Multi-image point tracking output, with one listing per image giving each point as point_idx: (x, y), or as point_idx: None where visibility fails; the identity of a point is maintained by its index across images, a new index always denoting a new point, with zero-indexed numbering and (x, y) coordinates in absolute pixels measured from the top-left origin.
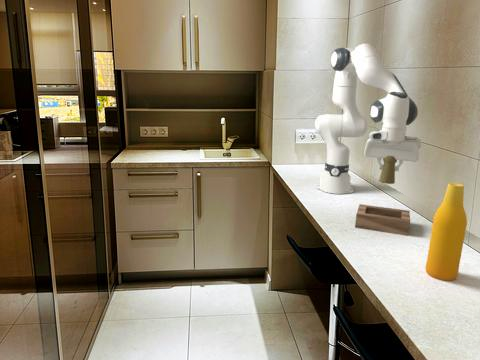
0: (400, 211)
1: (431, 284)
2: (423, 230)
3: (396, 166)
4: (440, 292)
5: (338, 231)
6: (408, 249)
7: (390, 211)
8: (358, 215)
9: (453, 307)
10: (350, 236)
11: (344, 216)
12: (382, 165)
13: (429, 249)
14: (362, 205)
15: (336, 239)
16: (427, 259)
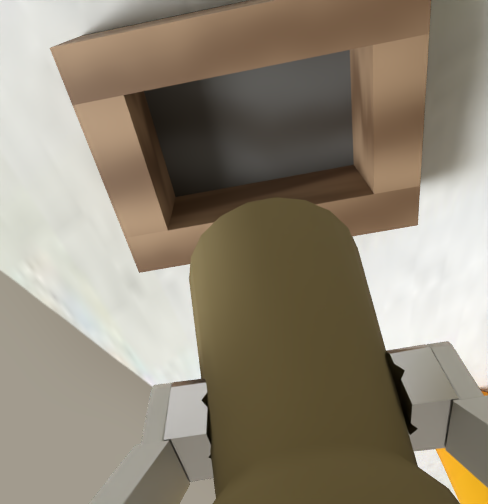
0: (363, 42)
1: (429, 455)
2: (479, 57)
3: (432, 427)
4: (443, 470)
5: (117, 308)
6: (386, 322)
7: (292, 59)
8: (150, 268)
9: (456, 496)
10: (176, 326)
11: (20, 96)
12: (208, 478)
13: (453, 488)
14: (85, 74)
15: (149, 370)
16: (439, 454)
